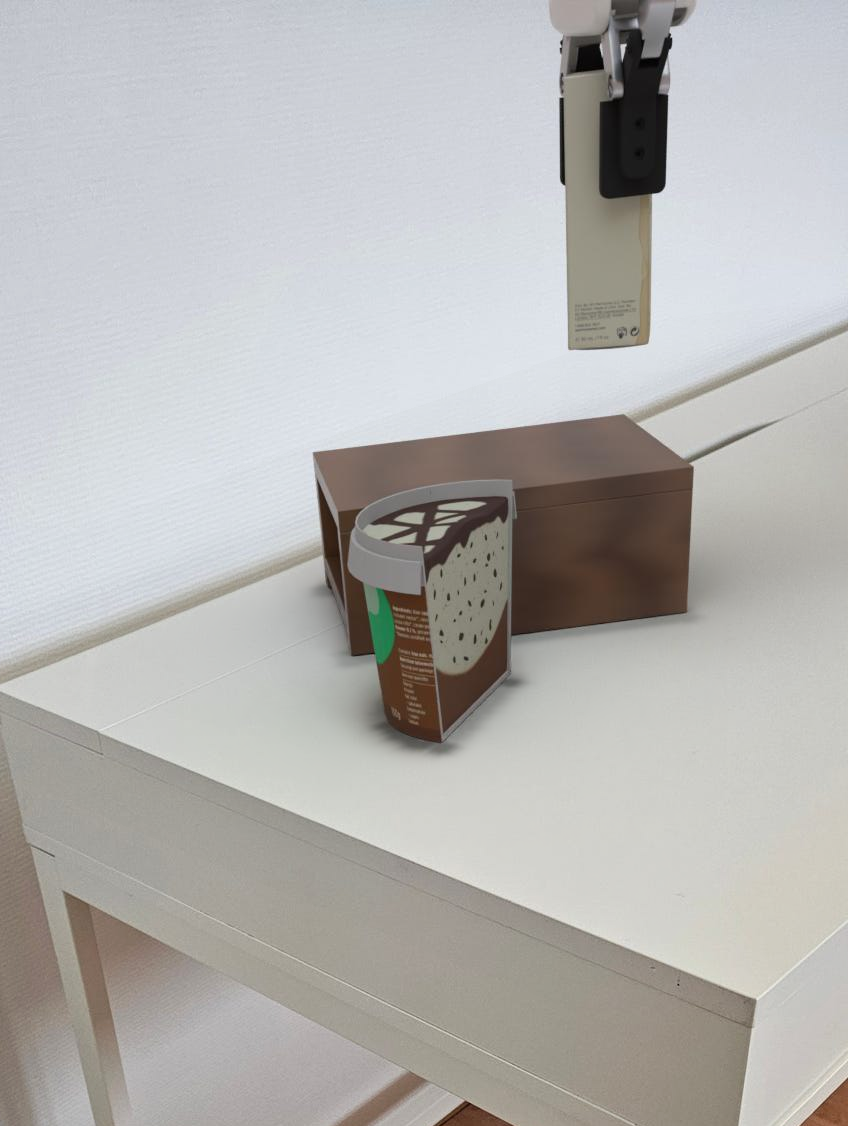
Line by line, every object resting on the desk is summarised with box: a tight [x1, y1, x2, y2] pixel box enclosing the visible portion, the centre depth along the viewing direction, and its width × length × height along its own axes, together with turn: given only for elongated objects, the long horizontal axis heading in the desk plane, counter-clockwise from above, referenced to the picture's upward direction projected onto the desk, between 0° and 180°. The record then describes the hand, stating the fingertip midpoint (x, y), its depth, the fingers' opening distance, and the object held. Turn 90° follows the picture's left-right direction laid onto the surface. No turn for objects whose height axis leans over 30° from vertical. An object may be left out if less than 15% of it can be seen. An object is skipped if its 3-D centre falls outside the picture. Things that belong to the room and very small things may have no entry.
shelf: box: [312, 413, 695, 656], centre depth 85 cm, size 20×14×8 cm
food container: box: [347, 480, 517, 743], centre depth 72 cm, size 12×6×10 cm, turn 154°
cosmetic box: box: [564, 70, 653, 351], centre depth 73 cm, size 6×4×12 cm
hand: (610, 186), depth 72 cm, fingers closed on cosmetic box, 7 cm apart
